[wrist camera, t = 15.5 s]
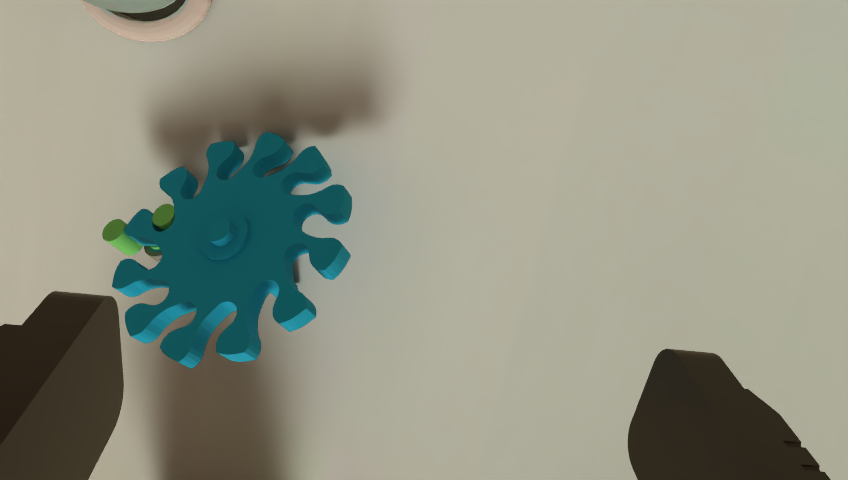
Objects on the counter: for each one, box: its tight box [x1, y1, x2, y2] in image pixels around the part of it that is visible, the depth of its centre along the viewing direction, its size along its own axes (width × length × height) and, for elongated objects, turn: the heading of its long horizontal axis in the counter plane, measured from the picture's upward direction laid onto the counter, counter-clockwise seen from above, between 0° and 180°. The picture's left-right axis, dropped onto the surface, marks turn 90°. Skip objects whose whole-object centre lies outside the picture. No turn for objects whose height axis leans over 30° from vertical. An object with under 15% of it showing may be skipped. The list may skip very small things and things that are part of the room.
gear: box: [102, 132, 352, 369], centre depth 27 cm, size 11×6×10 cm
